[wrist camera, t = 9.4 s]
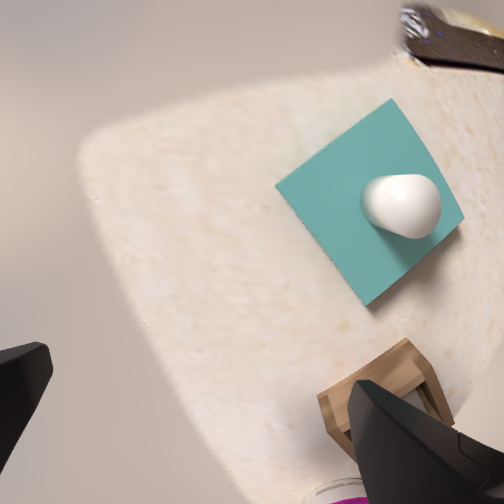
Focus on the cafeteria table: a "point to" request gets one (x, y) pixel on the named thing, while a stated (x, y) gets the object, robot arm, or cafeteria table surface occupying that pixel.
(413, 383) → the box
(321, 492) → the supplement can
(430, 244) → the lid
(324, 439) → the cafeteria table surface
